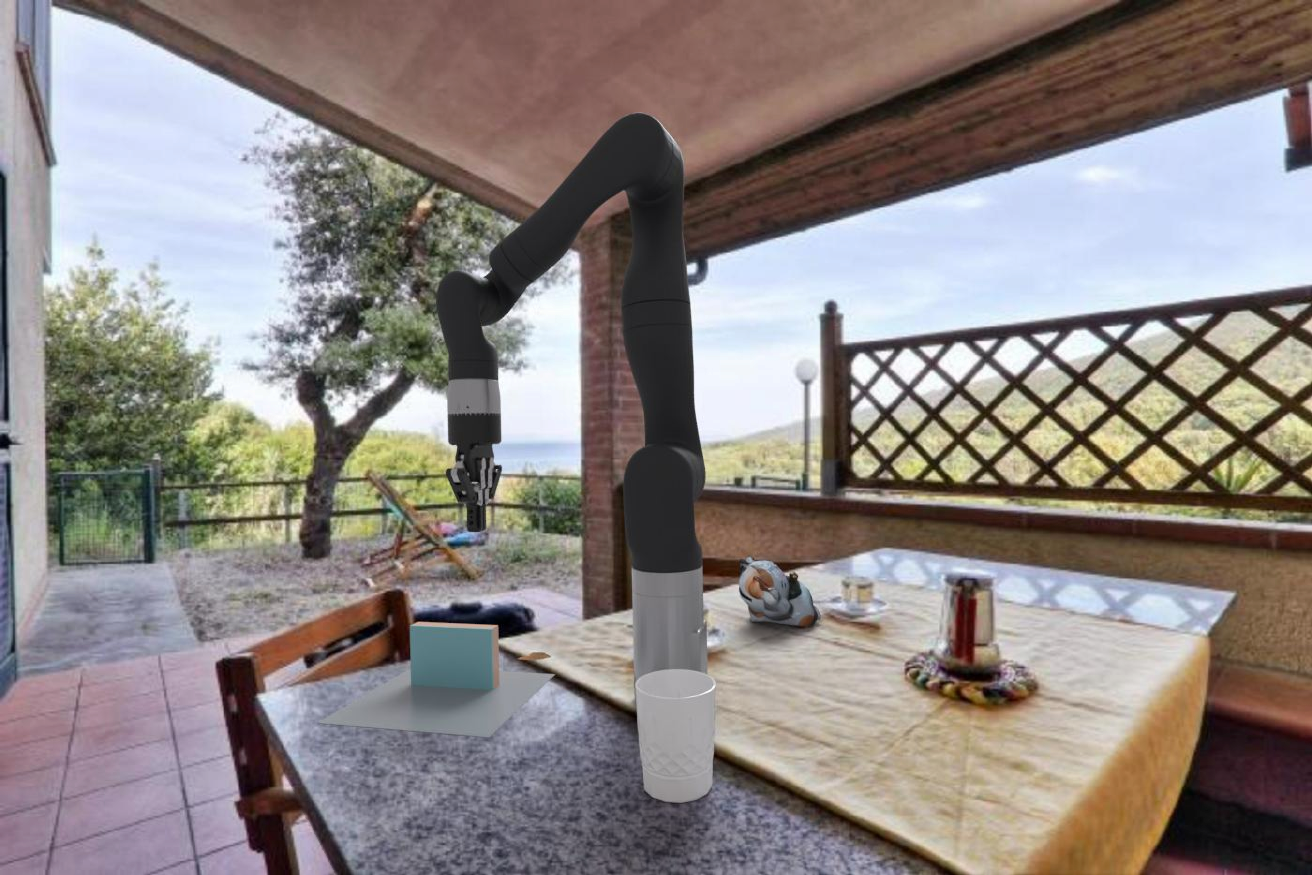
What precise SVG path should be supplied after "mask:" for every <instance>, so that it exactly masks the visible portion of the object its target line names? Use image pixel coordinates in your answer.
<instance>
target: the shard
mask: <svg viewBox="0 0 1312 875" xmlns="http://www.w3.org/2000/svg"><path fill="white" fill-rule="evenodd" d="M551 657H552V655H550V654H548V653H546V652H545V651H544V652H543V651H534V652H531V653H528V654H526V655H523V656H520V657H518V658H517V660H521V661H523V660H524V661H539V660H544V659H545V660H546V659H549V658H551Z"/></svg>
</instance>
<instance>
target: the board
mask: <svg viewBox="0 0 1312 875" xmlns="http://www.w3.org/2000/svg"><path fill="white" fill-rule="evenodd" d="M555 675H556V674H555V673H538V672H526V671H525V672H522V671H507V670H506V671H503V670H499V685H498V686H497V687H496V688H495V689H494V690H482V689H467V688H452V687H436V686H421V685H411V667H410V668H408V669H406V670H405V671H403V672H401V673H400V674H398V675H395V677H393V678H391V679H390V680H388V681H386V682H384V683H383V684H381V685H379V686H378V687H376V688H375V689H372V690H370V691H369V692H367V693H366V694H363V696H360V697H359V698H357V699H356V700H354V701H352V702H350V703H348V704H346V705H345V706H343V707H342V708H340V709H338V710H336V711H334V712H333V713H331V714H329V715H328V716H327V717H325V718H323V719H321V720H320V721H318V722H317V724H319V725H320V724H322V725H333V726H334V725H335V726H343V727H344V726H346V727H356V728H357V727H358V728H366V729H367V728H370V729H380V730H392V731H393V730H394V731H405V732H416V733H417V732H419V733H428V734H429V733H430V734H441V735H453V736H454V735H455V736H465V737H477V738H490V737H491V736H492V735H493V734H494V733H496V732H497V730H498V729H500V728H501V726H503V725H504V724H505V723H506V722H507V721H508V720H509V719H510V718H512V716H513V715H514V714H515V713H516V712H518V711H519V710H520V709H521V707H523V706H524V705H525V704H526V703H527V702H528V701H529V700H530V699H531V698H532V697H533V696H534V695H535V694H536V693H538V691H539V690H541V689H542V688H543V687H544V686H545V685H546V684H547V683H548V682H549V681H550V680H551V679H552V678H553V677H554V676H555Z"/></svg>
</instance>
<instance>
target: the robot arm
mask: <svg viewBox="0 0 1312 875" xmlns="http://www.w3.org/2000/svg"><path fill="white" fill-rule="evenodd" d="M623 191H624V192H625V193H626V197H627V202H628V207H629V208H628V209H629V214H630V215H629V216H630V221H631V222H630V223H631V237H632V238H631V252H630V255H629V259H628V263H627V266H626V270H625V274H624V278H623V281H622V286H621V294H620V306H621V307H620V309H621V313H620V314H621V325H622V338H623V345H624V349H625V356H626V359H627V362H628V365H629V367H630V372H631V374H632V377H633V381H634V383H635V386H636V388H637V392H638V395H639V398H640V402H641V407H642V413H643V420H644V421H643V422H644V446H642V447H641V448H639V449H638V450H636V451H635V452H634V453H633V454H632V455H631V457H630V458H629V459H628V461H627V464H626V466H625V469H624V475H623V483H622V484H623V486H622V488H623V492H622V493H623V494H622V495H623V497H622V498H623V513H624V529H625V530H624V531H625V540H626V545H627V548H628V550H629V553H630V559H631V560H630V561H631V589H632V590H631V591H632V592H631V598H632V600H631V601H632V602H631V603H632V639H633V642H632V648H633V649H632V650H633V652H632V653H633V688H634V689H633V690H634V692H633V693H634V695H633V696H634V701H635V702H636V690H635V683H636V681H637V680H638V679H639V678H640V677H642V676H643V675H645V674H648V673H651V672H655V671H660V670H668V669H685V670H693V671H698V672H702V673H705V674H707V675H709V674H708V673H709V672H708V671H709V670H708V629H707V628H708V626H707V624H708V623H707V621H706V619H704V584H703V582H704V581H703V580H704V578H703V577H704V576H703V573H704V572H703V571H704V570H703V548H702V544H700V542H699V541H698V540H699V539H698V537H697V534H696V523H695V522H696V520H695V503H696V502H697V501H698V500H699V498H700V497H701V495H702V493H703V491H704V488H705V485H706V475H707V474H706V473H707V472H706V467H705V466H706V465H705V461H704V460H705V459H704V454H703V450H702V449H703V448H702V444H701V437H700V434H699V433H700V432H699V427H698V421H697V420H698V419H697V414H696V412H697V411H696V405H695V365H694V363H695V362H694V346H693V344H694V343H693V342H694V340H693V322H692V321H693V320H692V309H691V296H690V288H689V278H688V277H689V276H688V266H687V258H686V256H687V255H686V249H685V248H686V247H685V241H684V240H685V239H684V199H685V198H684V196H685V195H684V194H685V162H684V156H683V154H682V150H681V148H680V146H679V145H678V143H677V142H676V140H675V139H674V138H673V137H672V135H671V134H670V133H669V131H668V130H667V129H666V128H665V126H664V125H663V124H662V123H661V122H660V121H659V120H658V119H657V118H655V117H654V116H653V115H650V114H648V113H646V112H645V113H644V112H631V113H629V114H627V115H626V114H625V115H623V116H622V117H620V118H619V119H618V120H616V121H615V122H614V123H613V124H612V125H610V126H609V128H607V130H606V131H605V132H604V133H602V135H601V136H600V138H599V139H598V140H597V141H596V142H595V144H594V145H593V146H592V147H591V148H590V150H589V151H587V153H586V154H585V156H583V158H582V159H581V161H580V162H579V163H578V164H577V165H576V166H575V167H574V168H573V170H572V171H571V172H570V173H569V174H568V176H566V178H565V179H564V180H563V182H561V183H560V185H559V186H557V188H556V189H555V190H554V192H553V193H552V194H551V195H549V197H548V198H547V199H546V201H544V202H543V204H541V205H540V207H538V208H537V210H536V211H534V212H533V213H532V214H530V216H529V217H528V218H527V219H526V220H524V221H523V222H522V223H521V224H520V225H519V226H517V227H516V228H515V229H513V230H512V231H511V232H510V233H509V234H507V236H505V237H504V238H503V239H502V240H501V241H500V242H498V243H497V244H496V245H495V246H494V247H493V249H492V250H491V251H490V253H489V256H488V262H489V266H490V271H489V272H488V273H487V274H486V275H484V276H483V277H482V276H480V275H477V274H474V273H472V272H469V271H465V270H461V269H458V270H453V271H452V270H451V271H449V272H447V273H446V274H445V275H444V277H443V276H442V279H441V280H440V282H439V284H438V286H437V289H436V297H435V306H436V312H437V317H438V321H439V325H440V327H441V328H440V329H441V332H442V337H443V340H444V344H445V346H446V349H447V353H448V357H447V358H448V360H447V362H448V366H447V367H448V368H447V369H448V386H447V387H448V388H447V395H446V396H447V398H446V400H447V402H446V403H447V404H446V406H447V407H446V408H447V442H448V444H449V445H450V446H456V451H455V455H454V460H455V464H454V466H453V468H451V467H450V468H446V470H445V476H446V478H447V481H448V483H449V485H450V487H451V489H452V491H453V492H452V493H453V494H454V496H455V498H456V501H457V502H458V503H459V504H460V503H462V504H463V506H465V507H466V530H467V532H468V533H481V532H483V531H486V529H487V505H488V504H489V502H490V501H489V500H493V499H495V495H496V492H497V489H498V485H499V481H500V478H501V475H502V471H503V466H502V464H496V463H495V454H494V449H493V445H500V443H501V442H502V411H501V410H502V409H501V408H502V406H501V405H502V404H501V403H502V402H501V401H502V400H501V398H502V397H501V390H500V384H499V383H500V382H499V353H498V350H497V347H496V344H494V343H493V342H492V341H490V339H488V338H487V337H486V335H485V334H484V329H483V327H488V326H491V325H494V324H496V323H498V322H499V321H500V320H502V319H503V318H505V317H506V316H507V315H508V313H509V312H510V311H511V310H512V309H513V307H514V306H515V304H516V303H517V302H518V301H519V299H521V297H522V296H523V294H524V292H525V291H526V290H527V288H528V287H529V286H530V285H532V284H533V283H535V281H537V280H538V279H539V278H540V277H542V276H543V275H544V274H545V273H547V272H548V271H549V270H551V269H552V268H553V267H554V266H555V265H556V264H557V263H558V262H560V261H561V259H562V258H564V256H565V255H566V254H567V252H568V251H569V250H570V248H571V247H572V245H573V244H574V242H575V240H576V238H577V237H578V235H579V234H580V232H581V230H582V229H583V227H584V225H585V224H586V222H587V221H588V220H589V219H590V218H591V216H592V215H593V214H594V213H595V212H596V211H597V210H598V209H599V208H600V207H602V206H603V205H604V204H605V203H606V202H607V201H609V200H610V199H611V198H614V197H615V196H616V195H618V194H619V193H621V192H623Z"/></svg>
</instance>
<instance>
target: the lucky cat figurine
mask: <svg viewBox="0 0 1312 875" xmlns="http://www.w3.org/2000/svg"><path fill="white" fill-rule="evenodd" d="M739 562H740V565H739V567H738V568H739V572H740V573H739V574H740V576H739V581H738V586H739V587H738V592H739V596H740V598H741V599H742V600H743V601H744V602H745V604H746V605H747V608H748V609H747V610H748V613H749V617H750V620H751V622H752V623H759V622H767V623H773V624H775V623H776V624H782V625H789V626H790V625H791V626H795V627H798V628H799V627H800V628H803V629H806V628H809V627H811V626H813V625H815V624H816V622H817V621H820V620H821V618H822V615H821V614H820V611H819V608H818V607H817V606H815V605H814V601H813V600H814V598H813V597H812V594H811V592H810V589H809V588H808V587H807V586H806V585H805V584H804V583H803V582H801V581H799V580H798V579H799V575H798V573H796V571H795V570H791V571H790V573H789V575H787V574H785V573H784V572H783V570H782V569H780V567H779V566H778V565H777V564H775V563H774V562H773V561H769V560H757V561H756V559H755V558H754V557H752V556H750V557H747V558H746V559H743V558H739Z"/></svg>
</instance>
